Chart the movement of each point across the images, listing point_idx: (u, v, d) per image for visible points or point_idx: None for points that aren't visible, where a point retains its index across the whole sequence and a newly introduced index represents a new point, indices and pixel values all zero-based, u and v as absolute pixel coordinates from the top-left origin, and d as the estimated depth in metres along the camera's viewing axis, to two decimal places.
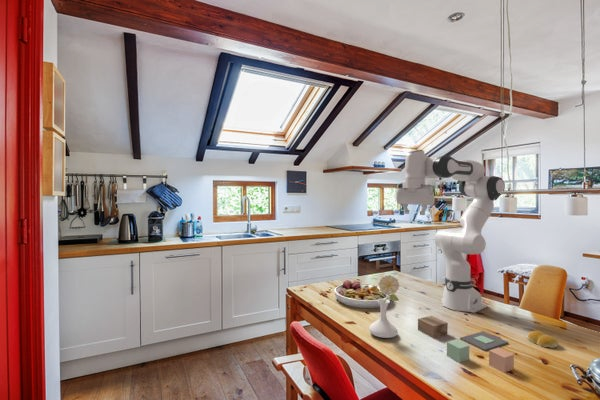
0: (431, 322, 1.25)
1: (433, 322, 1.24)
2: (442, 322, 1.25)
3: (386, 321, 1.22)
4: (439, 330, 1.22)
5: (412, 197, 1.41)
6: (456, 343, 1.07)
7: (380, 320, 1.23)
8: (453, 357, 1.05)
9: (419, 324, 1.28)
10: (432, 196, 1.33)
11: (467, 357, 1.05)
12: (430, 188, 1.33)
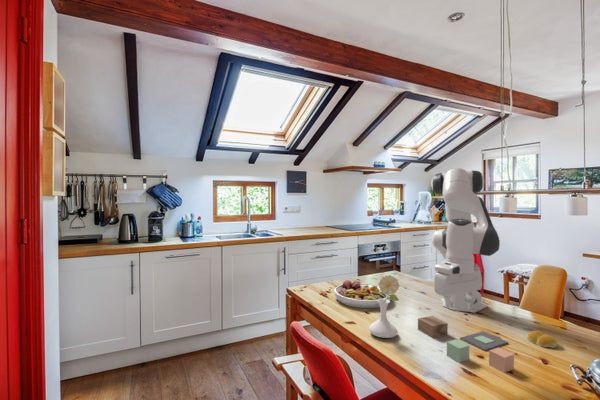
0: (431, 322, 1.25)
1: (433, 322, 1.24)
2: (442, 322, 1.24)
3: (386, 321, 1.22)
4: (438, 330, 1.22)
5: (464, 283, 1.05)
6: (456, 343, 1.07)
7: (380, 320, 1.23)
8: (453, 357, 1.05)
9: (419, 324, 1.28)
10: None
11: (467, 357, 1.05)
12: (478, 268, 1.10)
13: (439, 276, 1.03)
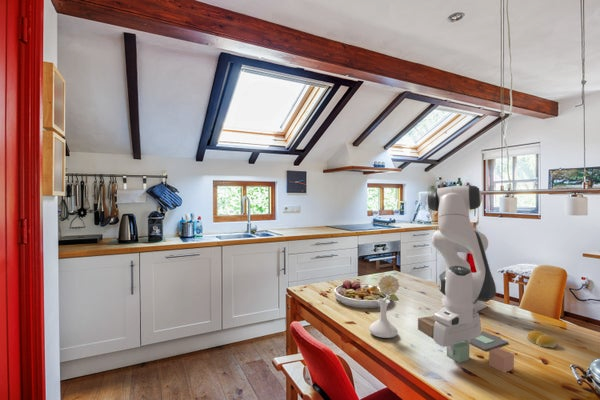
0: (430, 322, 1.25)
1: (433, 322, 1.24)
2: None
3: (386, 321, 1.22)
4: None
5: (463, 332, 1.05)
6: (456, 343, 1.07)
7: (380, 320, 1.23)
8: (453, 357, 1.05)
9: (419, 324, 1.28)
10: None
11: (467, 357, 1.05)
12: (477, 315, 1.10)
13: (438, 326, 1.03)
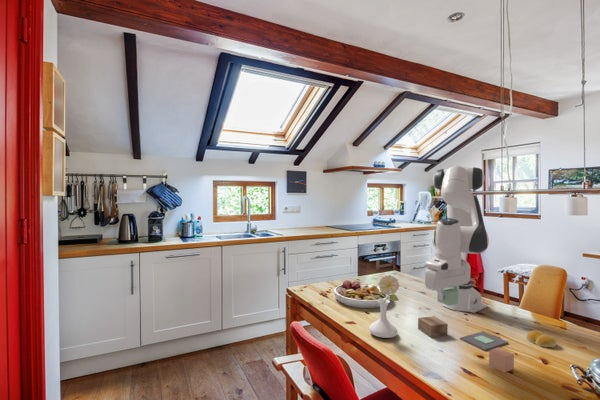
0: (430, 322, 1.25)
1: (432, 322, 1.25)
2: (442, 323, 1.24)
3: (386, 321, 1.22)
4: (437, 330, 1.22)
5: (452, 278, 1.14)
6: (446, 289, 1.15)
7: (380, 320, 1.23)
8: (443, 301, 1.14)
9: (419, 323, 1.29)
10: None
11: (456, 301, 1.14)
12: (465, 264, 1.18)
13: (429, 272, 1.11)
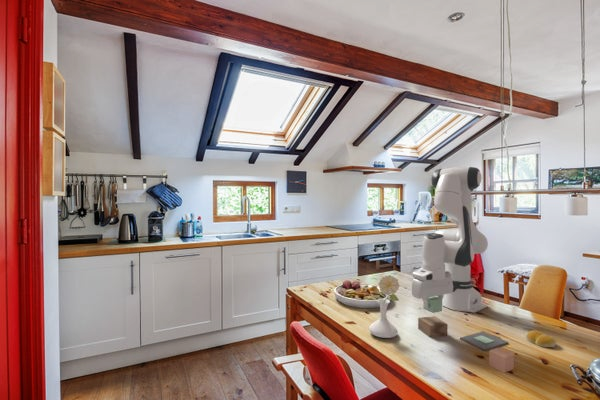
0: (430, 322, 1.25)
1: (432, 322, 1.25)
2: (442, 323, 1.24)
3: (386, 321, 1.22)
4: (437, 330, 1.22)
5: (437, 288, 1.25)
6: (431, 297, 1.26)
7: (380, 320, 1.23)
8: (428, 309, 1.25)
9: (419, 323, 1.29)
10: None
11: (440, 309, 1.24)
12: (449, 275, 1.30)
13: (415, 282, 1.22)
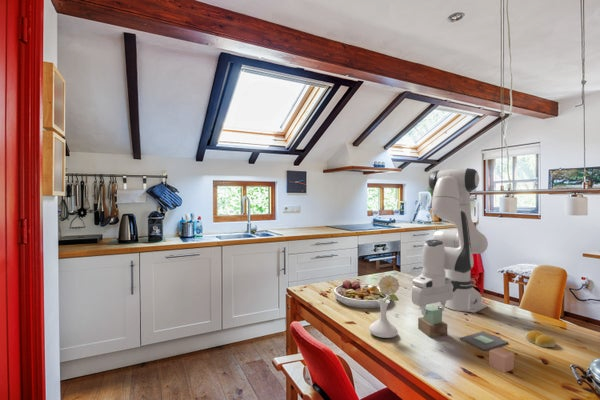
0: None
1: None
2: (442, 323, 1.24)
3: (386, 321, 1.22)
4: (437, 330, 1.22)
5: (437, 295, 1.25)
6: (431, 308, 1.26)
7: (380, 320, 1.23)
8: (428, 320, 1.25)
9: (419, 323, 1.29)
10: None
11: (440, 320, 1.25)
12: (449, 281, 1.30)
13: (415, 289, 1.23)
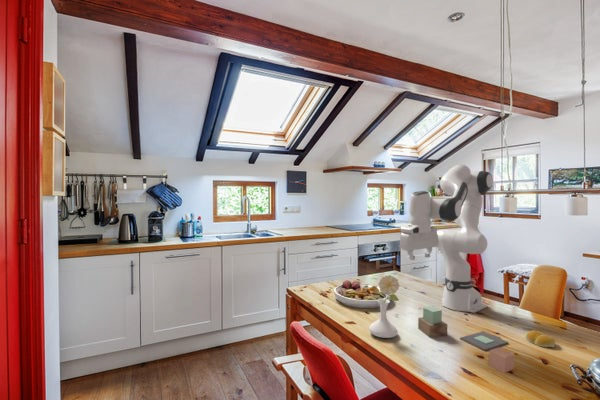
0: None
1: None
2: (442, 323, 1.24)
3: (386, 321, 1.22)
4: (436, 330, 1.22)
5: (423, 241, 1.34)
6: (431, 308, 1.26)
7: (380, 320, 1.23)
8: (428, 320, 1.25)
9: (419, 323, 1.29)
10: None
11: (440, 320, 1.25)
12: (435, 230, 1.39)
13: (403, 236, 1.32)
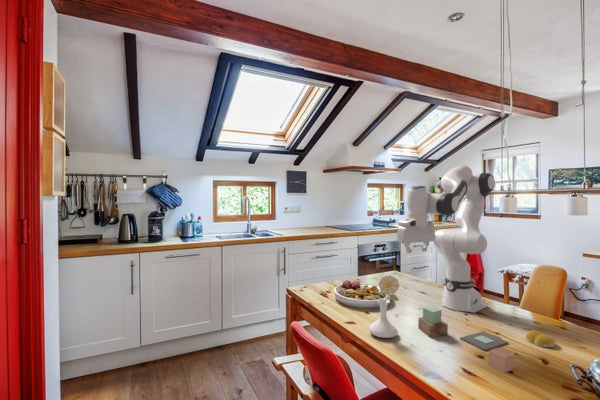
0: None
1: None
2: (442, 323, 1.24)
3: (386, 321, 1.22)
4: (437, 330, 1.22)
5: (420, 235, 1.36)
6: (430, 308, 1.26)
7: (380, 320, 1.23)
8: (428, 320, 1.25)
9: (419, 323, 1.29)
10: None
11: (439, 320, 1.25)
12: (432, 225, 1.41)
13: (400, 229, 1.34)
